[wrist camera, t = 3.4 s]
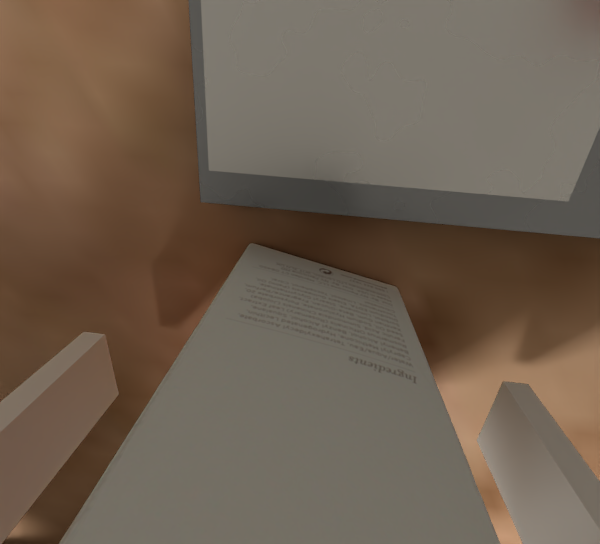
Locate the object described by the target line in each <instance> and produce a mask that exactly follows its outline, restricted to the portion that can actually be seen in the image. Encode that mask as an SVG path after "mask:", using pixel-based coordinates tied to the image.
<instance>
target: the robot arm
mask: <svg viewBox="0 0 600 544" xmlns="http://www.w3.org/2000/svg"><path fill="white" fill-rule="evenodd" d="M118 395H119V392H118V388H117V384H116V379H115V375H114V370H113V366H112V362H111V357H110V353H109V348H108V344H107V340H106V335H105V334H100V333H91V332H83V333H81V334H80V335H79V336H78V337H77V338H75V339H74V340H73V341H72V342H71V343H69V344H68V345H67V346H66V347H65V348H64V349H62V350H61V351H60V352H59V353H58V354H56V355H55V356H54V357H53V358H52V359H51V360H49V361H48V362H47V363H46V364H45V365H43V366H42V367H41V368H40V369H39V370H37V371H36V372H35V373H34V374H33V375H32V376H30V377H29V378H28V379H27V380H26V381H24V382H23V383H22V384H21V385H20V386H19V387H17V388H16V389H15V390H14V391H13V392H11V393H10V394H9V395H8V396H7V397H5V398H4V399H3V400H2V401H1V402H0V544H2V543H3V541H4V540H5V539H6V538H7V536H8V535H9V534H10V533H11V531H12V530H13V529H14V527H15V526H16V525H17V524H18V522H19V521H20V520H21V519H22V517H23V516H24V515H25V513H26V512H27V511H28V510H29V508H30V507H31V506H32V504H33V503H34V502H35V501H36V499H37V498H38V497H39V496H40V494H41V493H42V492H43V490H44V489H45V488H46V487H47V485H48V484H49V483H50V482H51V480H52V479H53V478H54V476H55V475H56V474H57V473H58V471H59V470H60V469H61V468H62V466H63V465H64V464H65V462H66V461H67V460H68V459H69V457H70V456H71V455H72V454H73V452H74V451H75V450H76V448H77V447H78V446H79V445H80V443H81V442H82V441H83V440H84V438H85V437H86V436H87V434H88V433H89V432H90V431H91V429H92V428H93V427H94V425H95V424H96V423H97V422H98V420H99V419H100V418H101V417H102V415H103V414H104V413H105V411H106V410H107V409H108V408H109V406H110V405H111V404H112V403H113V401H114V400H115V399H116V397H117V396H118ZM477 442H478V444H479V447H480V449H481V451H482V453H483V456H484V458H485V460H486V462H487V464H488V467H489V469H490V471H491V473H492V476H493V478H494V480H495V482H496V485H497V487H498V489H499V491H500V494H501V496H502V498H503V500H504V502H505V505H506V507H507V509H508V511H509V514H510V516H511V518H512V520H513V523H514V525H515V527H516V529H517V532H518V534H519V536H520V538H521V541H522V543H523V544H600V481H599V480H598V478H597V477H596V476H595V474H594V473H593V472H592V470H591V469H590V468H589V466H588V465H587V464H586V462H585V461H584V459H583V458H582V457H581V455H580V454H579V453H578V451H577V450H576V449H575V447H574V446H573V445H572V443H571V442H570V440H569V439H568V438H567V436H566V435H565V434H564V432H563V431H562V430H561V428H560V427H559V426H558V424H557V423H556V421H555V420H554V419H553V417H552V416H551V415H550V413H549V412H548V411H547V409H546V408H545V407H544V405H543V404H542V402H541V401H540V400H539V398H538V397H537V396H536V394H535V393H534V392H533V390H532V389H531V388H530V386H529V385H528V384H522V383H514V382H505V381H503V383H502V385H501V387H500V389H499V392H498V394H497V396H496V398H495V401H494V403H493V405H492V407H491V409H490V412H489V414H488V416H487V418H486V421H485V423H484V425H483V427H482V430H481V432H480V434H479V436H478V439H477Z"/></svg>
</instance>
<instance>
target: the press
mask: <svg viewBox="0 0 600 544" xmlns="http://www.w3.org/2000/svg"><path fill="white" fill-rule="evenodd" d="M189 16H190V33H191V50H192V66H193V83H194V100H195V117H196V133H197V150H198V167H199V184H200V200H201V202H205V203H216V204H227V205H238V206H249V207H260V208H271V209H282V210H293V211H304V212H315V213H326V214H337V215H348V216H359V217H370V218H381V219H392V220H403V221H414V222H425V223H436V224H447V225H458V226H469V227H480V228H491V229H502V230H513V231H524V232H535V233H546V234H557V235H568V236H579V237H590V238H600V0H189Z"/></svg>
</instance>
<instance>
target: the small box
mask: <svg viewBox="0 0 600 544" xmlns="http://www.w3.org/2000/svg"><path fill="white" fill-rule="evenodd" d="M59 544H500V542H499V540H498V537H497V535H496V532H495V530H494V527H493V525H492V522H491V520H490V517H489V515H488V512H487V510H486V507H485V505H484V502H483V500H482V497H481V495H480V492H479V490H478V488H477V485H476V483H475V480H474V477H473V475H472V472H471V469H470V467H469V464H468V462H467V459H466V457H465V454H464V452H463V449H462V447H461V444H460V442H459V439H458V437H457V434H456V432H455V429H454V427H453V424H452V422H451V419H450V417H449V414H448V412H447V409H446V407H445V404H444V402H443V399H442V397H441V394H440V392H439V389H438V387H437V384H436V382H435V379H434V377H433V374H432V372H431V369H430V367H429V364H428V362H427V359H426V357H425V354H424V352H423V349H422V347H421V344H420V342H419V339H418V337H417V335H416V332H415V329H414V327H413V324H412V322H411V320H410V317H409V315H408V312H407V310H406V307H405V304H404V302H403V300H402V297H401V295H400V292H399V290H398V288H397V287H396V286H393V285H389V284H385V283H382V282H379V281H376V280H372V279H369V278H366V277H362V276H359V275H356V274H353V273H350V272H346V271H343V270H340V269H336V268H333V267H330V266H326V265H323V264H320V263H316V262H313V261H310V260H307V259H303V258H300V257H297V256H293V255H290V254H287V253H284V252H280V251H277V250H274V249H270V248H267V247H264V246H260V245H257V244H254V243H250V244H249V245H248V246H247V248H246V250H245V251H244V253H243V254H242V256H241V257H240V259H239V260H238V262H237V263H236V265H235V266H234V268H233V270H232V271H231V273H230V275H229V276H228V278H227V279H226V281H225V282H224V284H223V285H222V287H221V288H220V290H219V292H218V293H217V295H216V296H215V298H214V299H213V301H212V303H211V304H210V306H209V308H208V309H207V311H206V312H205V314H204V315H203V317H202V319H201V320H200V322H199V323H198V325H197V326H196V328H195V329H194V331H193V333H192V334H191V336H190V337H189V339H188V340H187V342H186V344H185V345H184V347H183V348H182V350H181V351H180V353H179V355H178V356H177V358H176V360H175V361H174V363H173V365H172V366H171V368H170V369H169V371H168V372H167V374H166V375H165V377H164V378H163V380H162V382H161V383H160V385H159V386H158V388H157V389H156V391H155V393H154V394H153V396H152V397H151V399H150V400H149V402H148V404H147V405H146V407H145V408H144V410H143V412H142V413H141V415H140V416H139V418H138V419H137V421H136V423H135V424H134V426H133V427H132V429H131V430H130V432H129V434H128V435H127V437H126V438H125V440H124V442H123V443H122V445H121V446H120V448H119V450H118V451H117V453H116V454H115V456H114V458H113V459H112V461H111V462H110V464H109V465H108V467H107V469H106V470H105V472H104V473H103V475H102V477H101V478H100V480H99V481H98V483H97V485H96V486H95V488H94V489H93V491H92V492H91V494H90V495H89V497H88V499H87V500H86V502H85V503H84V505H83V506H82V508H81V510H80V511H79V513H78V514H77V516H76V517H75V519H74V520H73V522H72V524H71V525H70V527H69V528H68V530H67V531H66V533H65V535H64V536H63V538H62V539H61V541H60V542H59Z"/></svg>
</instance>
